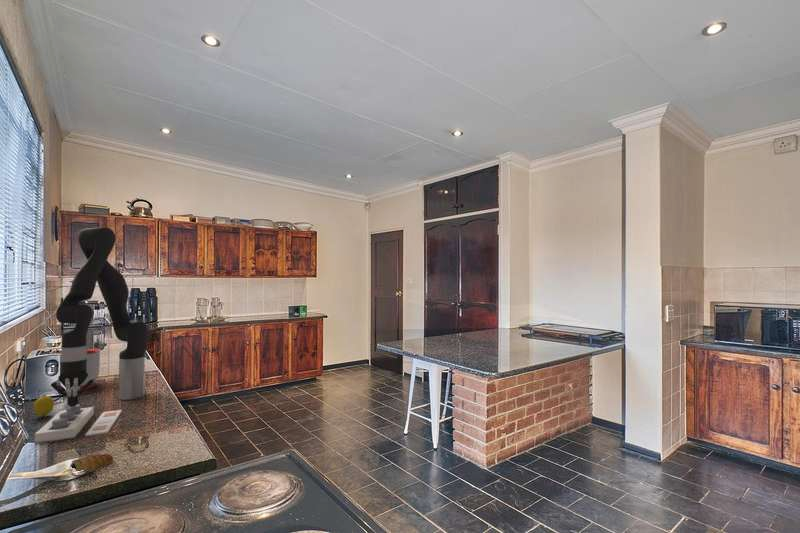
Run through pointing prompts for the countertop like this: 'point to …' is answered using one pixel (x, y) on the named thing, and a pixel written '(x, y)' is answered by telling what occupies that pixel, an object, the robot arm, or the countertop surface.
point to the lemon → (43, 405)
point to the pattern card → (104, 423)
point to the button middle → (68, 415)
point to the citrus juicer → (92, 366)
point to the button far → (75, 409)
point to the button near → (60, 423)
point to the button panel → (64, 433)
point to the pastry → (91, 462)
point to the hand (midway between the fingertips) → (72, 406)
